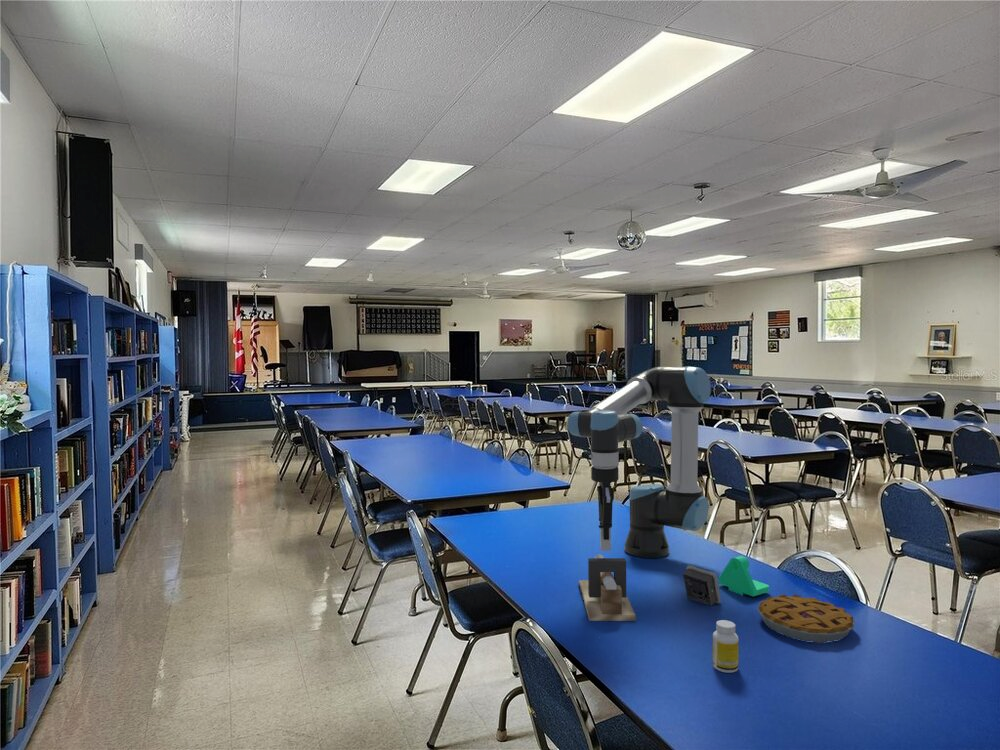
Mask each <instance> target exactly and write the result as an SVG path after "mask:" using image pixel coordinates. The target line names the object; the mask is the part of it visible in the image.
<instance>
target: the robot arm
mask: <svg viewBox="0 0 1000 750" xmlns="http://www.w3.org/2000/svg"><path fill="white" fill-rule="evenodd" d="M711 387H712V386H711V381H710V378H709V376H708V373H707V372H706V371H705V370H704V369H703V368H701V367H697V366H690V365H689V366H665V365H664V366H656V367H652V368H649V369H647V370H644V371H642V372H640V373H638V374H636V375H635V376H633V377H631V378H629V380H628V381H627V382H626V385H624V386H622V387H621V388H620V389H618V390H617V391H615V392H614V393H612V394H611V395H608V397H605V398H604V399H603V400H601V401H599V402H598V403H597V404H595V405H594V406H592V407H590V408H588V409H587V410H585V411H581V410H580V411H573V412H571V414H570V415H569V416H568V419H567V423H566V424H567V429H568V432H569V434H571V435H573V436H575V437H580V438H590V442H591V444H590V445H591V447H590V452H591V454H589V455H588V458H590V459H591V461H590V462H591V466H592V467H591V468H590V476H591V477H590V478H591V480H592V481H593V482H595V483H599V484H598V485H597V486H596V491H597V499H598V500H597V501H598V504H597V505H598V521H599V524H598V528H599V530H600V531H599V535H600V536H599V537H600V539H599V542H600V546H599V548H600V551H603V552H605V551H607V552H608V551H609V552H610V551H612V544H611V542H612V541H611V539H612V538H611V537H612V534H611V533H612V532H611V531H612V530H611V528H612V527H613V502H614V488H613V487H612V484H611V483H615V482H618V481H619V473H620V472H619V468H618V466H619V462H620V461H619V460H620V459H619V452H620V451H619V443H622V442H627V441H628V442H629V441H633V440H634V439H637V438H639V437H640V436H641V435H642V432H643V422H642V420H641V418H640V417H639V416H638V415H636V414H633V413H628V412H631V410H633V409H634V408H636V407H637V406H638V405H643V404H647V403H648V402H651V401H666V404H667V405H666V407H667V408H668V410H669V411H670V412H671V429H670V431H671V433H670V434H671V435H670V441H671V442H670V483H669V484H668V485H667V486H666V487H665V486H664V485H662V484H658V483H657V484H655V483H654V484H653V483H651V484H650V483H649V484H648V483H647V484H641V485H636V486H633V487H631V489H630V491H629V499H628V501H629V529H628V533H627V535H626V538H625V542H624V551H625V553H627V554H628V555H631V556H635V557H638V558H643V559H645V558H646V559H648V558H649V559H654V558H656V559H657V558H663V557H666V556H669V554H670V545H669V542H668V538H667V536H666V532H665V527H670V528H675V529H680V530H682V531H691V532H697V531H699V530H700V529H702V527H703V526H704V525H705V524H706V521H707V519H708V516H709V511H710V503H709V499H708V498H707V497H706V496H704V495H703V489H702V488H701V486H699V484H698V471H699V470H698V469H699V468H698V467H699V466H698V463H699V462H698V461H699V456H698V455H699V413H700V411H701V410H703V408H704V404H705V403H707V402H708V401H709V399H710V396H711V392H712V388H711Z"/></svg>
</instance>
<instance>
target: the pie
mask: <svg viewBox="0 0 1000 750" xmlns="http://www.w3.org/2000/svg"><path fill="white" fill-rule="evenodd" d="M756 610H757V612H758V613H759V615H760V616H761V619H762V621H763V622H764V624H765V626H766V627H767V626H768V627H767V628H769V627H770V628H769V629H771V628H772V629H773V630H772V629H771V630H772V631H774V630H775V631H776V632H775V631H774V632H775V633H777V632H779V633H782V634H784V635H786V636H789V637H791V638H795V639H800V640H804V641H813V642H827V641H834V640H839V639H841V638H843V637H845V636H846V637H847V636H848V635H849V633H850V631H851V630H853V629H854V627H855V624H856V621H855V620H854V617H853V616H852V614H850V613H847V611H846V609H845V608H843V607H837V606H835V605H834V604H833V603H830V602H829V601H828V602H827V601H821V600H818V598H816V597H812V596H811V597H804V596H803V597H802V595H798V594H793V595H792V596H789V595H787V594H779V595H778V596H776V597H775V596H768V597H766V600H763V599H762V600H761V601H760V604H759V605H758V606H757V608H756ZM779 633H778V634H779ZM784 635H783V636H784ZM786 636H785V637H786ZM789 637H788V638H789ZM791 638H790V639H791ZM839 641H840V640H839Z"/></svg>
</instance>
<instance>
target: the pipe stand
mask: <svg viewBox="0 0 1000 750" xmlns="http://www.w3.org/2000/svg"><path fill="white" fill-rule="evenodd" d="M600 583H603V582H602V580H601V576H600ZM579 586H580V587H579ZM578 587H579V590H580V593H582V594H581V597H582V600H584V601H583V603H584V604H583V605H584V607H585V611H586V614H587V617H588V621H590V622H591V621H593V622H596V621H597V622H608V621H609V622H610V621H612V622H613V621H614V622H633V621H634V622H635V621H637V615H636V613H635V610H634V608H633V606H632V604H631V602H630V600H629V598H628V596H627V595H626V598H622V589H621V587H620V585H617V587H618V590H616V591H615V590H607V591H606V587H605V585H601V598H589V595H588V579H584V580H583V579H581V580H580V579H579V580H578ZM617 591H618V592H617ZM611 592H612V593H611ZM615 593H616V594H615ZM609 594H610V595H609ZM612 594H613V595H612Z"/></svg>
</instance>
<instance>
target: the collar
mask: <svg viewBox="0 0 1000 750" xmlns="http://www.w3.org/2000/svg"><path fill="white" fill-rule="evenodd" d="M587 561H588V562H587V564H588V567H587V572H588V573H587V578H588V579H587V580H588V595H589V598H601V585H604V584H603V583H600V572H611V573H613V577H614V581H615V583H616V585H620V587H621V589H622V598H626V596H627V559H626V557H623V558H622V557H621V558H620V557H618V558H617V557H616V558H614V557H612V558H611V557H610V558H609V557H608V558H606V557H604V558H595V557H594V558H593V557H592V558H591V557H590V558H589V557H588V558H587Z"/></svg>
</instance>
